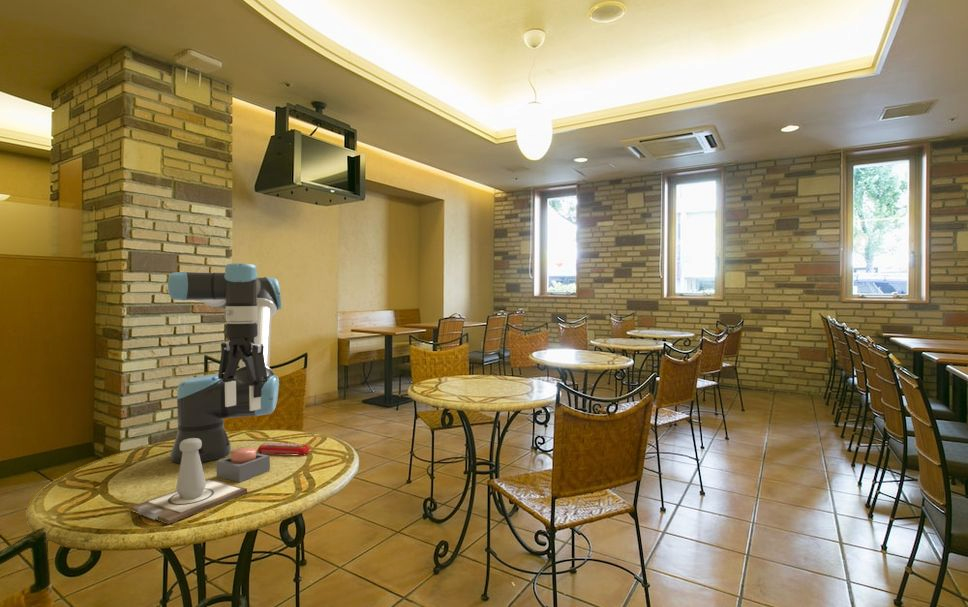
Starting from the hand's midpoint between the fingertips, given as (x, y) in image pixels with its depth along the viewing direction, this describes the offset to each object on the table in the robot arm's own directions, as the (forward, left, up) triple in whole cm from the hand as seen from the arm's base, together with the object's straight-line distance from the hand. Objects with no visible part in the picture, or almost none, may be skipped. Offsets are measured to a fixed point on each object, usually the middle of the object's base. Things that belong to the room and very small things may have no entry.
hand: (242, 407), depth 127 cm
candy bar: (-4, +16, -18) cm, 25 cm away
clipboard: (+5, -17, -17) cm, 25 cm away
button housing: (0, 0, -17) cm, 17 cm away
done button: (0, 0, -14) cm, 14 cm away
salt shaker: (+5, -17, -16) cm, 24 cm away
